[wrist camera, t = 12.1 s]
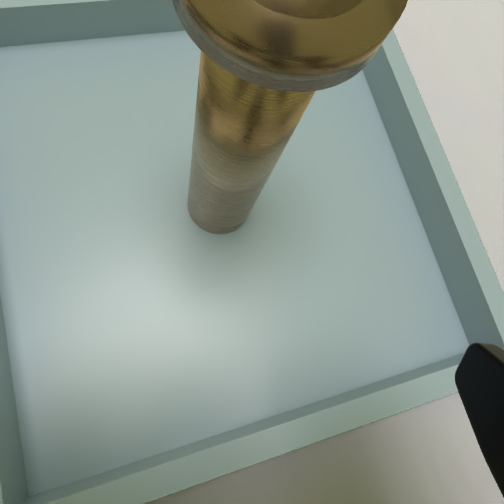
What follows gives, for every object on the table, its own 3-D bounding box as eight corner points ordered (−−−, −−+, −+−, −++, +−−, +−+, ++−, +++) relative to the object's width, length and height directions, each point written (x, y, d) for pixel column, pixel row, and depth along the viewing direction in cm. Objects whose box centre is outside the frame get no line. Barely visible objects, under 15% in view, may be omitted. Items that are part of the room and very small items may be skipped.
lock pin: (233, 266, 19) (344, 103, 7) (153, 214, 19) (114, -51, 7) (280, 194, 20) (446, -54, 8) (205, 145, 20) (256, -185, 8)
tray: (484, 365, 21) (533, 364, 18) (11, 528, 16) (-26, 564, 13) (345, 12, 25) (367, -33, 23) (-51, 47, 20) (-88, -5, 18)
